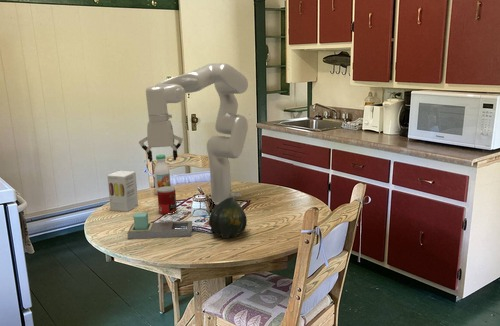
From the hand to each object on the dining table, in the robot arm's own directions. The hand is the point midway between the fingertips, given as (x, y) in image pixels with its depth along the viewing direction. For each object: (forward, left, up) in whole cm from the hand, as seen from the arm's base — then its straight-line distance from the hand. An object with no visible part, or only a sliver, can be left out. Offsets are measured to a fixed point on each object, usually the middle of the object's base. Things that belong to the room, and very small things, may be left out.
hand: (163, 160), depth 174 cm
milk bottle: (+8, -43, -27) cm, 52 cm away
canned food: (+2, -14, -27) cm, 31 cm away
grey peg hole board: (+1, +10, -27) cm, 29 cm away
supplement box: (+23, -22, -27) cm, 42 cm away
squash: (-25, +14, -27) cm, 40 cm away
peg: (+9, +10, -27) cm, 30 cm away
